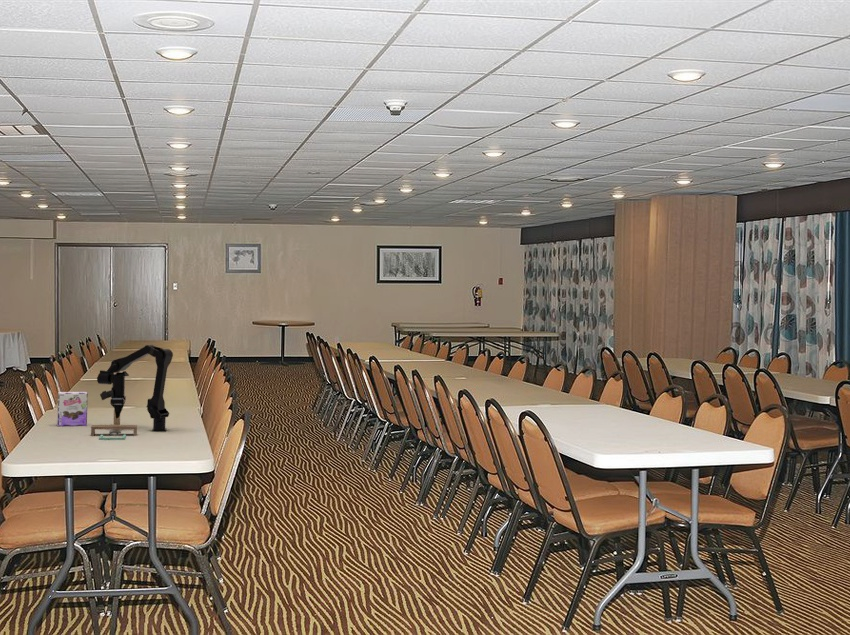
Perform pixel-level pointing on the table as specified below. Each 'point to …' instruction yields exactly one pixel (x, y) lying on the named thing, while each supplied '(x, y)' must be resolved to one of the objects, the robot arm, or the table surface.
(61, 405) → the candy box
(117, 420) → the try square
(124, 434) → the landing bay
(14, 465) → the table surface
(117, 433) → the steel puck
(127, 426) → the walnut plinth
